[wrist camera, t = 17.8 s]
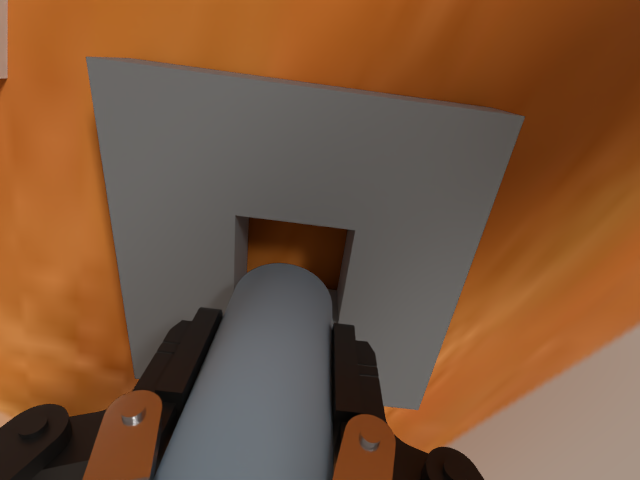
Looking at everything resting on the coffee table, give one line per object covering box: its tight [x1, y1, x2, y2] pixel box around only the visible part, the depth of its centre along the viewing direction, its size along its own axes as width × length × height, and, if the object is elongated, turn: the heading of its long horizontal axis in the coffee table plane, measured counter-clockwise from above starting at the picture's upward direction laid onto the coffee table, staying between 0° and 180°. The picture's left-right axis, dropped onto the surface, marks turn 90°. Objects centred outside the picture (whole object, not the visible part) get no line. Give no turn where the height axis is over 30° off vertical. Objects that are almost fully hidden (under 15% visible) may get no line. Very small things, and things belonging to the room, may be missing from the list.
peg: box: [154, 263, 334, 480], centre depth 10 cm, size 4×4×9 cm
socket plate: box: [86, 57, 525, 410], centre depth 18 cm, size 16×16×3 cm
